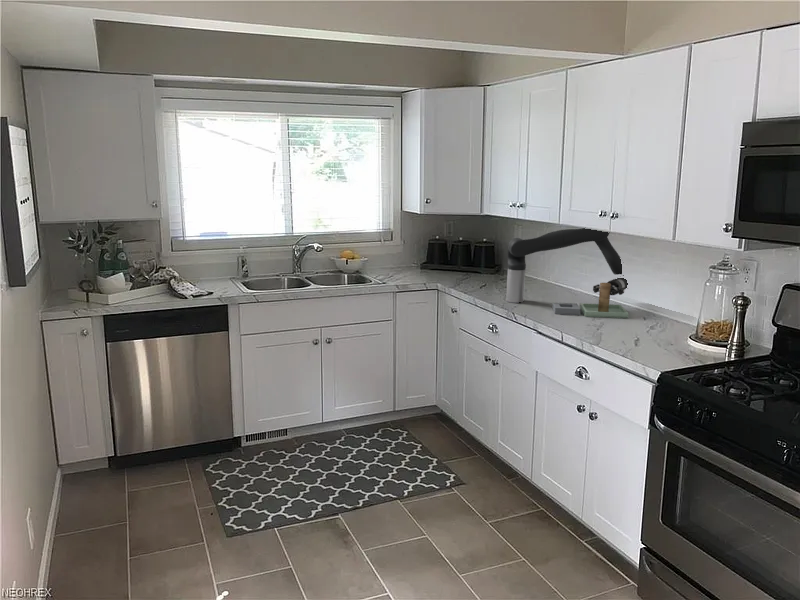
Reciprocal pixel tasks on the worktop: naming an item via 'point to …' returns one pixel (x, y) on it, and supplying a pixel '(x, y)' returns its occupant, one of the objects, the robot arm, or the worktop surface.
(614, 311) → the tray
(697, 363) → the worktop surface
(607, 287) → the dowel
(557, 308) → the socket block
